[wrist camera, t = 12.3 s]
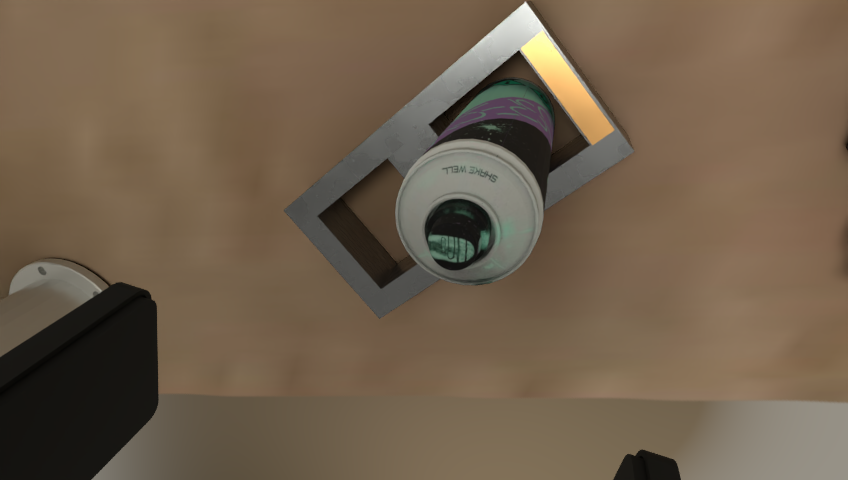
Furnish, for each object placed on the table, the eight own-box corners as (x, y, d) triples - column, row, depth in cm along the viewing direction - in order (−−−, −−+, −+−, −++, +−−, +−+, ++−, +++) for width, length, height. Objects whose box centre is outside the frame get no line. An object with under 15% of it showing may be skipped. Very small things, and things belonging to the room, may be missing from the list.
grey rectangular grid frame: (395, 291, 43) (378, 321, 39) (308, 191, 41) (281, 211, 37) (627, 134, 34) (634, 153, 31) (530, 0, 33) (525, 1, 29)
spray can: (570, 137, 35) (569, 284, 18) (494, 176, 38) (425, 342, 20) (529, 59, 34) (484, 133, 16) (453, 104, 36) (340, 213, 19)
